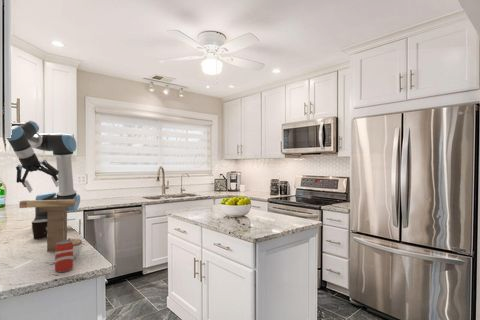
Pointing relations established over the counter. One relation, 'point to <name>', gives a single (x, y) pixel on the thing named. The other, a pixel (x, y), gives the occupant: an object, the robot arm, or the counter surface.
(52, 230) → the walnut stand
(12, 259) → the counter surface
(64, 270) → the beverage can
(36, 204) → the tan wooden bar
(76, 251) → the lidded jar
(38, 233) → the coffee mug
